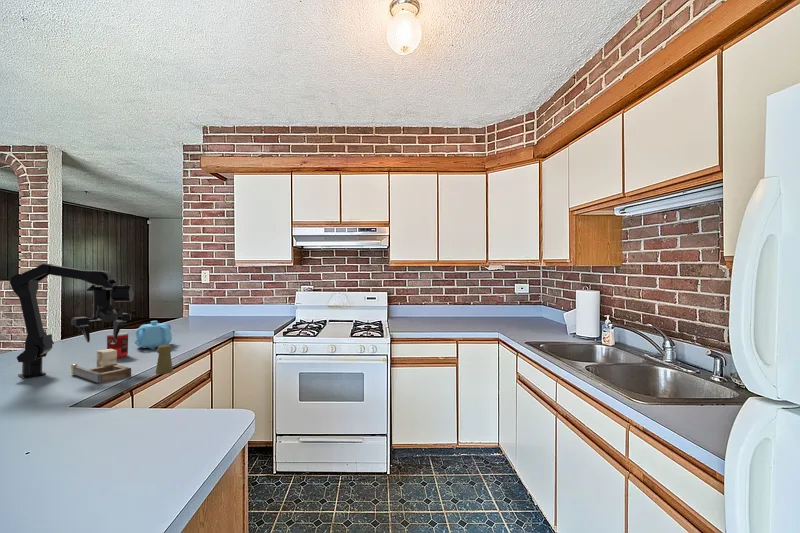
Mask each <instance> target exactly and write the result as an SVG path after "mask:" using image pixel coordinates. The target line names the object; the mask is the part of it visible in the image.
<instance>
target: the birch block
mask: <svg viewBox="0 0 800 533" xmlns="http://www.w3.org/2000/svg"><path fill="white" fill-rule="evenodd" d="M117 361H118V359H117V350H114V349H107V348H106V349H100V350H96V367H102V366H107V365H112V364H118V362H117Z"/></svg>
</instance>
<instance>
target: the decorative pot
mask: <svg viewBox="0 0 800 533" xmlns="http://www.w3.org/2000/svg"><path fill="white" fill-rule="evenodd" d="M171 330H172V326H171V324H168V323H160V322H158V320H151V321H150V323H147V324H141V325H140V326H139V327H138V328H137V329H136V330H135V338H134V344H135V345H136V346H137V347H139V348H140V349H145V348H149V350H154V349H155V350H156V348H158V347H159V346H161V345H170V344H171V342H172V341H173V335H172V332H171Z"/></svg>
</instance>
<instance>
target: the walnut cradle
mask: <svg viewBox="0 0 800 533" xmlns="http://www.w3.org/2000/svg"><path fill="white" fill-rule="evenodd" d="M88 369H89V370H92V371H95V372H98V373H101V382H100V383H105V382H106V383H107V382H110V381H114V380H119V379H123V378H128V377H131V376H132V368H131V367H128V366H124V365H121V364H118V363H117V364H112V365H107V366H102V367H97V366H96V367H93V368H88Z"/></svg>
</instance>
